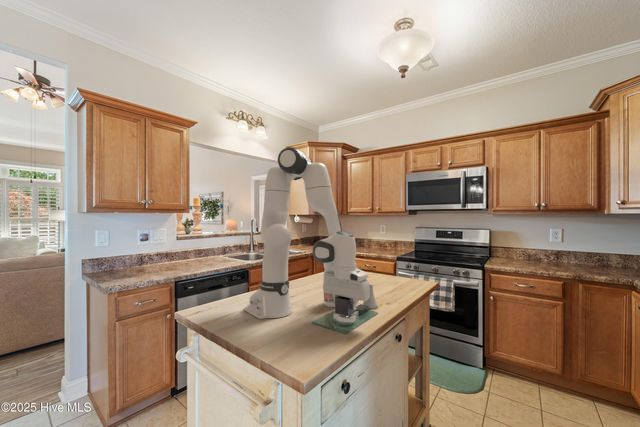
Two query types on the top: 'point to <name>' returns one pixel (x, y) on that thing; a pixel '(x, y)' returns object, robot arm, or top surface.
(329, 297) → the fruit juice
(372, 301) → the flask
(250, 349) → the top surface
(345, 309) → the dark square pot
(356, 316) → the green placemat
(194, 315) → the top surface
